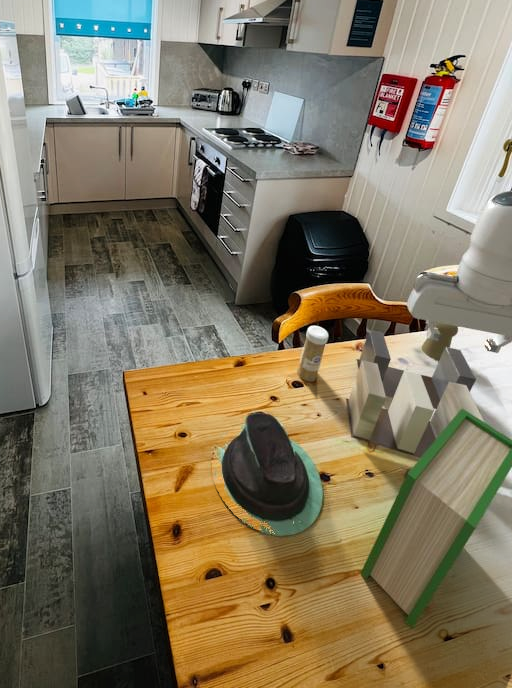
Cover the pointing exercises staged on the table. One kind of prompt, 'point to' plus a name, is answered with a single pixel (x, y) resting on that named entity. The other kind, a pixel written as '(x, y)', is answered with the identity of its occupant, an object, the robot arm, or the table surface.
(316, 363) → the sprinkles bottle
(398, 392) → the upright white block
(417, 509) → the hardback book
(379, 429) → the light brown wooden rack
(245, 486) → the black and teal hat
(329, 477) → the table surface
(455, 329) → the cork
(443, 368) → the grey rack
